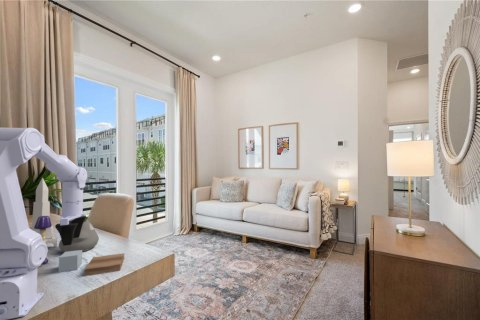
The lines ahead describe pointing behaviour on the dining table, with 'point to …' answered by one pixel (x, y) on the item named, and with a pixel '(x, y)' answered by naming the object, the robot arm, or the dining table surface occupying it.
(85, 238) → the toy
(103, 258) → the walnut base
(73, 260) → the slate cube
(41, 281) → the dining table surface
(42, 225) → the toy lamp
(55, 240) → the sculpture
